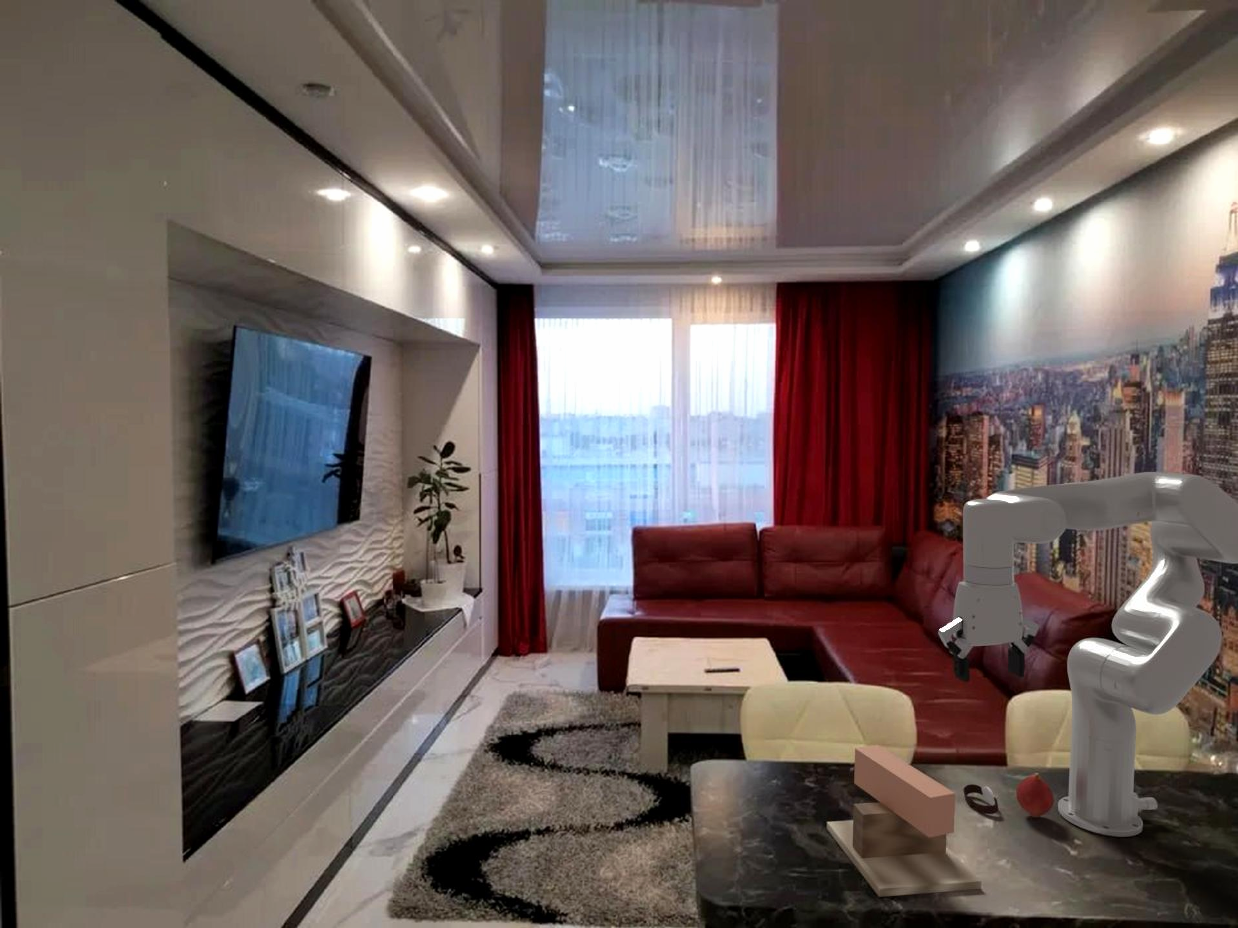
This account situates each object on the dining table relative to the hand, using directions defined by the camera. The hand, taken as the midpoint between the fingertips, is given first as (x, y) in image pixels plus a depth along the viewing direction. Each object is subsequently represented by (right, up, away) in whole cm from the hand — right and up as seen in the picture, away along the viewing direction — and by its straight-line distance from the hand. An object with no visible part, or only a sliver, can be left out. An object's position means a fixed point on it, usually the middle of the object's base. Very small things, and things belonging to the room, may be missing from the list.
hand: (989, 676), depth 128 cm
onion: (+12, -27, +8) cm, 31 cm away
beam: (-17, -19, -5) cm, 26 cm away
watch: (+4, -27, +12) cm, 30 cm away
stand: (-17, -27, -5) cm, 32 cm away
